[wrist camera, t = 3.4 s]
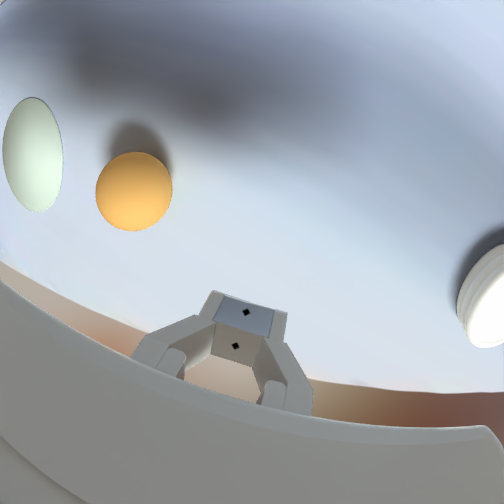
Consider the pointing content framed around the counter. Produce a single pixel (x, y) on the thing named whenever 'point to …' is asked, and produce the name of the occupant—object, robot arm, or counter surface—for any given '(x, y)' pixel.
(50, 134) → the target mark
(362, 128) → the counter surface
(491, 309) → the white round disc
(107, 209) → the ball
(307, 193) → the counter surface
